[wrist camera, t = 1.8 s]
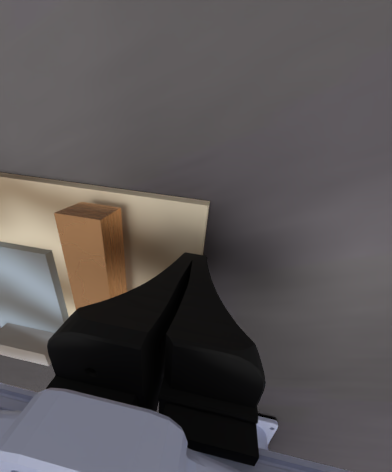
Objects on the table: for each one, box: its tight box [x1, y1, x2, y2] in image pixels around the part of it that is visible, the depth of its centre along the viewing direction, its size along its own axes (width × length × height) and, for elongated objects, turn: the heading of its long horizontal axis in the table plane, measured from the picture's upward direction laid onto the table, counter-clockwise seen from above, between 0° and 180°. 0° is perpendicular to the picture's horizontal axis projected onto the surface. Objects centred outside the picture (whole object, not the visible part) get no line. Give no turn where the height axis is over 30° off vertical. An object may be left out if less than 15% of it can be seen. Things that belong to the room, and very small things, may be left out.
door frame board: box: [0, 172, 210, 366], centre depth 16 cm, size 19×18×4 cm
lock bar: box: [54, 202, 127, 310], centre depth 13 cm, size 13×3×2 cm, turn 174°
